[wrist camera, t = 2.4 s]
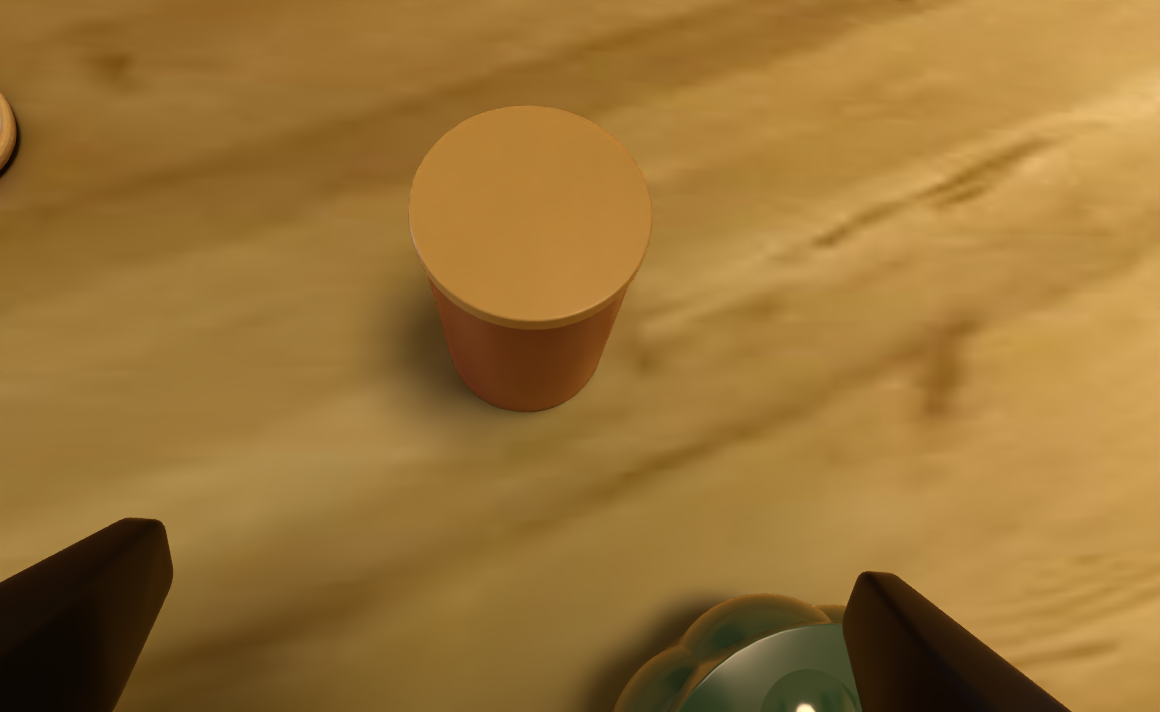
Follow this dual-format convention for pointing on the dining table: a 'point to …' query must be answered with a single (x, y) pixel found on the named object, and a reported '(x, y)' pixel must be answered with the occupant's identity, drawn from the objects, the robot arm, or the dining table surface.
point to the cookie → (6, 131)
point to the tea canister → (528, 248)
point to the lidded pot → (751, 662)
